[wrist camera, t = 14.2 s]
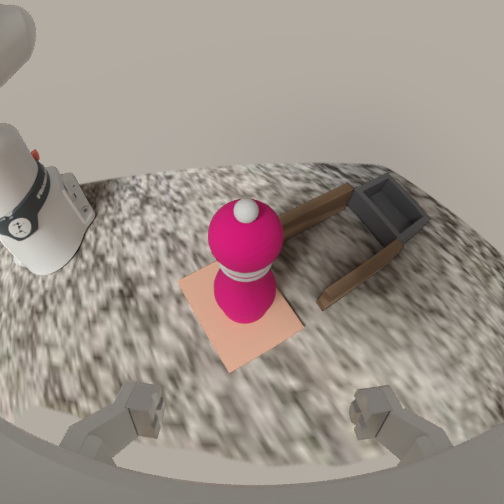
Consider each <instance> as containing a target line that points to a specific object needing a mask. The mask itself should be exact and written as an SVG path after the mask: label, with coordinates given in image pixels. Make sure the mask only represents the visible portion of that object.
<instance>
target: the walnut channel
mask: <svg viewBox="0 0 504 504" xmlns="http://www.w3.org/2000/svg"><path fill="white" fill-rule="evenodd" d="M353 190H354V189H353V188H352V187H351V186H350V185H349V184H348V183H346V184H344V185H342V186H340V187H337V188H335V189H333V190H331V191H329V192H327V193H325V194H323V195H321V196H319V197H317V198H315V199H312V200H310V201H308V202H306V203H304V204H302V205H300V206H298V207H296V208H294V209H292V210H290V211H288V212H286V213H284V214H282V215H280V216H278V217H279V219H280V221H281V224H282V227H283V242H284V241H286V240H288V239H290V238H292V237H294V236H296V235H297V234H299V233H301V232H303V231H305V230H307V229H309V228H310V227H312V226H314V225H316V224H318V223H320V222H322V221H323V220H325V219H327V218H329V217H331V216H333V215H335V214H336V213H338V212H340V211H342V210H344V209H345V208H346V205H347V203H348V201H349V199H350V197H351V194H352V192H353ZM403 247H404V246H403V244H402V243H401V242H400V241H399V239H398V238H397V239H396V240H395V241H393V242H392V243H391V244H389V245H388V246H387V247H385V248H384V249H383V250H381V251H380V252H378V253H377V254H376V255H374V256H373V257H371V258H370V259H369V260H367V261H366V262H364V263H363V264H361V265H360V266H359V267H357V268H356V269H354V270H353V271H351V272H350V273H348V274H347V275H346V276H344V277H343V278H341V279H340V280H338V281H337V282H335V283H334V284H332V285H331V286H329V287H328V288H326V289H325V291H324V292H323V293H322V295H321V296H320V298H319V299H318V300H317V302H316V303H317V304H318V306H319V307H320V309H321V310H322V311H324V310H325V309H327V308H328V307H330V306H331V305H332V304H334V303H335V302H337V301H338V300H340V299H341V298H342V297H344V296H345V295H347V294H348V293H350V292H351V291H352V290H354V289H355V288H356V287H358V286H359V285H361V284H362V283H363V282H365V281H366V280H367V279H369V278H370V277H371V276H373V275H374V274H375V273H377V272H378V271H379V270H381V269H382V268H383V267H385V266H386V265H387V264H388V263H390V262H391V261H392V259H393V258H394V257H395V256H396V255H397V254H398V253H399V252H400V251H401V249H402V248H403Z"/></svg>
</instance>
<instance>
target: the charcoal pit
mask: <svg viewBox="0 0 504 504" xmlns="http://www.w3.org/2000/svg"><path fill="white" fill-rule="evenodd" d="M347 205H348V206H349V207H350V209H351V210H352V211H353V212H354V213H355V214H356V215H357V216H358V217H359V219H360V220H361V221H362V222H363V223H364V224H365V225H366V227H367V228H368V229H369V230H370V231H371V233H372V234H373V235H374V236H375V237H376V238H377V240H378V241H379V242H380V243H381V244H382V246H383V247H384V248H385V247H387V246H388V245H389V244H391V243H392V242H393V241H395V240H396V239H397V238H398V239H399V241H400V242H401V243H402V244H404V243H405V242H407V241H408V240H409V239H410V238H412V237H413V236H414V235H415V234H417V233H418V232H419V231H420V230H421V229H422V228H423V226H424V225H425V224H426V223H427V222H428V220H429V219H430V218H429V216H428V215H427V214H426V213H425V212H424V211H423V210H422V208H421V207H420V206H419V205H418V204H417V203H416V202H415V201H414V200H413V199H412V197H411V196H410V195H409V194H408V193H407V192H406V191H405V190H404V189H403V188H402V187H401V186H400V185H399V184H398V183H397V182H396V181H395V180H394V179H393V178H392V177H391V176H390V175H389V174H388V173H386V174H384V175H382V176H380V177H378V178H376V179H374V180H372V181H370V182H368V183H366V184H364V185H362V186H360V187H358V188H356V189H354V191H353V193H352V195H351V197H350V199H349V201H348V204H347Z"/></svg>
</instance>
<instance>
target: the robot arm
mask: <svg viewBox="0 0 504 504" xmlns="http://www.w3.org/2000/svg"><path fill="white" fill-rule="evenodd" d="M35 40H36V28H35V23H34V21H33V18H32V17H31V15H30V14H29V13H28V12H27V11H26V10H25V9H23V8H21V7H19V6H15V5H3V4H0V87H2V86H3V85H4V84H5V83H6V82H7V81H8V80H9V79H10V78H11V77H12V76H13V75H14V74H15V73H16V72H17V71H18V70H19V69H20V68H21V67H22V66H23V65H24V64H25V63H26V62H27V61H28V60H29V59H30V57H31V54H32V52H33V49H34V45H35ZM38 160H39V154H38V152H37V151H36V150H33V151H32V152H31V153H30V151H29V149H28V148H27V146H26V144H25V143H24V141H23V139H22V137H21V136H20V134H19V132H18V130H17V129H16V128H15V127H14V126H12V125H10V124H6V123H0V240H1V242H2V243H3V244H4V245H5V246H6V247H7V249H8V250H9V251H10V252H11V253H12V254H13V255H14V258H13V260H14V262H15V263H16V264H17V265H18V266H25V267H26V268H28V269H29V270H30V271H31V272H32V273H34V274H37V275H47V274H51V273H53V272H55V271H57V270H59V269H60V268H61V267H63V266H64V265H65V264H66V263H67V262H68V261H69V260H70V259H71V258H72V257H73V255H74V254H75V253H76V251H77V249H78V248H79V246H80V244H81V241H82V239H83V236H84V233H85V231H86V229H87V227H88V226H89V225H90V223H91V222H92V221H93V219H94V217H95V212H94V210H93V208H92V207H91V205H90V203H89V201H88V200H87V198H86V196H85V194H84V193H83V191H82V189H81V187H80V185H79V184H78V182H77V180H76V178H75V176H74V175H73V174H72V173H65V174H60V173H59V171H58V170H57V168H56V167H54V166H49V167H44V166H43V165H42V164H40V163H39V161H38ZM161 395H162V389H161V386H159V385H153V384H147V383H142V382H136V381H131V380H126V381H125V382H124V383H123V385H122V387H121V389H120V391H119V393H118V395H117V397H116V399H115V401H114V403H113V405H108V406H106V407H104V408H102V409H101V410H99V411H97V412H95V413H94V414H92V415H90V416H88V417H86V418H84V419H83V420H81V421H79V422H77V423H75V424H73V425H71V426H70V427H69V429H68V430H67V433H66V434H65V436H64V438H63V440H62V441H61V443H60V445H59V446H57V445H54V444H52V443H50V442H47V441H45V440H43V439H41V438H38V437H37V436H35V435H33V434H30V433H28V432H26V431H25V430H23V429H20V428H19V427H17V426H15V425H13V424H11V423H10V422H8V421H6V420H5V419H3V418H1V417H0V504H504V423H502V424H500V425H498V426H496V427H494V428H492V429H490V430H488V431H486V432H484V433H482V434H480V435H478V436H476V437H474V438H472V439H470V440H468V441H466V442H463V443H461V444H459V445H456V446H454V447H453V445H452V443H451V442H450V440H449V438H448V437H447V435H446V433H445V431H444V430H443V429H442V428H440V427H438V426H436V425H435V424H433V423H431V422H429V421H427V420H426V419H424V418H422V417H420V416H418V415H417V414H415V413H413V412H411V411H410V410H408V409H406V408H405V409H403V408H402V406H401V404H400V402H399V400H398V399H397V397H396V395H395V393H394V392H393V390H392V388H391V387H390V386H389V385H385V386H379V387H371V388H364V389H358V390H357V391H356V392H355V395H354V396H355V400H354V401H353V402H352V403H351V406H350V411H349V415H350V419H351V422H352V423H354V424H355V425H356V426H355V428H354V431H355V433H356V436H357V439H358V440H363V439H370V438H375V439H376V440H378V441H379V442H380V443H381V444H382V445H383V446H385V447H386V448H387V449H388V450H389V451H391V452H392V453H393V454H394V455H395V456H397V457H398V458H399V459H400V460H401V461H400V462H399V464H398V465H397V466H396V467H392V468H389V469H385V470H381V471H376V472H372V473H367V474H363V475H358V476H353V477H347V478H341V479H334V480H327V481H319V482H310V483H299V484H283V485H230V484H229V485H228V484H215V483H203V482H194V481H186V480H179V479H172V478H166V477H161V476H156V475H151V474H146V473H141V472H137V471H133V470H129V469H125V468H121V467H117V466H116V464H115V463H114V461H113V459H112V457H114V456H115V455H116V454H118V453H119V452H120V451H121V450H122V449H124V448H125V447H126V446H127V445H129V444H130V443H131V442H132V441H133V440H135V439H136V438H137V437H138V436H143V437H149V438H155V439H157V438H158V434H159V431H160V423H159V422H160V421H161V420H163V417H164V411H165V403H164V399H163V398H162V397H161Z"/></svg>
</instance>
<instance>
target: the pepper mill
mask: <svg viewBox="0 0 504 504" xmlns="http://www.w3.org/2000/svg"><path fill="white" fill-rule="evenodd" d="M208 242H209V246H210V249H211V252H212V254H213V255H214V257H215V258H216V260H217V261H218V263H219V266H220V269H219V271H218V272H217V274H216V277H215V280H214V297H215V300H216V302H217V304H218V306H219V307H220V308H221V309H222V310H223V312H224V313H225V315H226V316H227V317H228V318H229V319H231V320H232V321H234V322H237V323H241V324H249V323H253V322H255V321H257V320H259V319H260V318H262V317H263V316H264V314H265V313H266V311H267V310H268V309H269V308H270V307H271V305H272V304H273V302H274V299H275V296H276V281H275V278H274V275H273V273H272V272H271V270H270V268H271V266H272V262H273V261H275V259H276V258H277V256H278V254H279V253H280V251H281V248H282V245H283V227H282V224H281V221H280V219H279V217H278V216H277V214H276V213H275V212H274V211H273V210H272V209H271V208H270V207H269V206H268V205H266V204H264V203H262V202H260V201H258V200H254V199H248V198H245V199H238V200H234V201H232V202H229V203H227V204H226V205H224V206H223V207H221V208H220V209H219V210H218V211H217V212H216V214H215V215H214V216H213V218H212V220H211V222H210V226H209V230H208Z"/></svg>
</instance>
